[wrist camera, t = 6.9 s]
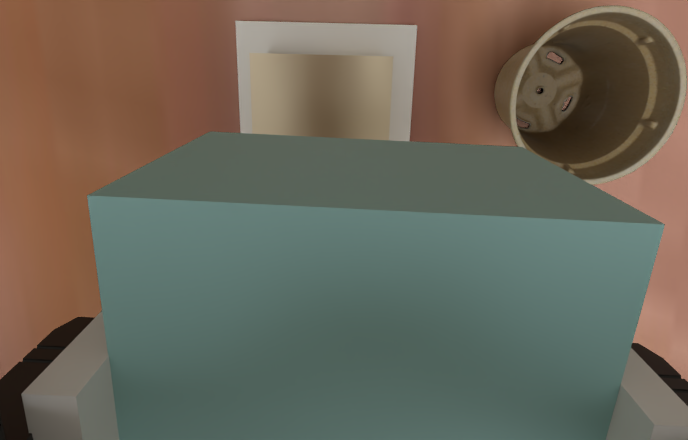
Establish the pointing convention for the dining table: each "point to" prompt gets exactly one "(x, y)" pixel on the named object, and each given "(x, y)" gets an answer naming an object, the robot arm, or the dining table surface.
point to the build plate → (332, 42)
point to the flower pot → (596, 92)
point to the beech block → (321, 95)
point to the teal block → (365, 292)
